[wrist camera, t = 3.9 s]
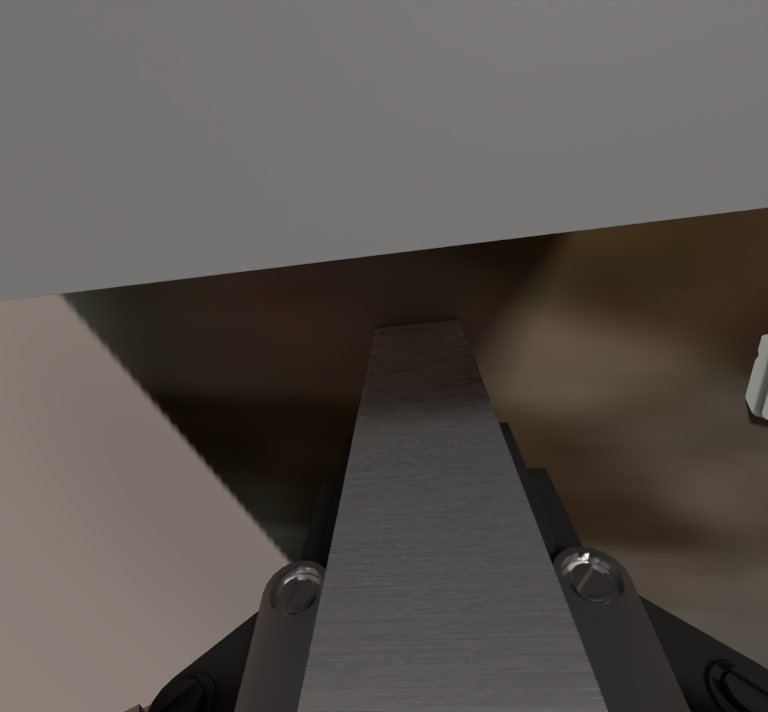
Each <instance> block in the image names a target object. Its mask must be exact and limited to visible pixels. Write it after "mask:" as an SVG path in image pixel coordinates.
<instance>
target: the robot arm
mask: <svg viewBox="0 0 768 712" xmlns="http://www.w3.org/2000/svg"><path fill="white" fill-rule="evenodd" d="M499 425H500V428H501V431H502V433H503V436H504V439H505V441H506V444H507V447H508V449H509V452H510V454H511V457H512V460H513V462H514V465H515V468H516V470H517V473H518V475H519V478H520V481H521V483H522V486H523V489H524V491H525V494H526V497H527V499H528V502H529V504H530V507H531V510H532V512H533V515H534V518H535V520H536V523H537V525H538V528H539V531H540V533H541V536H542V539H543V541H544V544H545V547H546V549H547V552H548V554H549V557H550V560H551V562H552V565H553V568H554V570H555V573H556V575H557V578H558V581H559V583H560V586H561V589H562V591H563V594H564V597H565V599H566V602H567V604H568V607H569V610H570V612H571V615H572V618H573V620H574V623H575V625H576V628H577V631H578V633H579V636H580V639H581V641H582V644H583V647H584V649H585V652H586V654H587V657H588V660H589V662H590V665H591V668H592V670H593V673H594V676H595V678H596V681H597V683H598V686H599V689H600V691H601V694H602V697H603V699H604V702H605V704H606V707H607V710H608V712H768V670H767V669H766V668H764V667H763V666H761V665H760V664H758V663H756V662H754V661H753V660H751V659H749V658H747V657H746V656H744V655H742V654H740V653H739V652H737V651H735V650H733V649H732V648H730V647H728V646H726V645H725V644H723V643H721V642H719V641H718V640H716V639H714V638H712V637H711V636H709V635H707V634H705V633H704V632H702V631H700V630H698V629H697V628H695V627H693V626H691V625H690V624H688V623H686V622H685V621H683V620H681V619H679V618H678V617H676V616H674V615H672V614H671V613H669V612H667V611H665V610H664V609H662V608H660V607H658V606H657V605H655V604H653V603H651V602H650V601H648V600H646V599H644V598H643V597H641V596H639V595H638V593H637V590H636V588H635V586H634V584H633V582H632V579H631V577H630V576H629V574H628V573H627V571H626V569H625V568H624V567H623V566H622V565H621V564H620V563H619V562H618V561H617V560H616V559H614V558H612V557H611V556H609V555H608V554H606V553H604V552H602V551H599V550H596V549H594V548H588V547H583V546H582V544H581V542H580V540H579V537H578V535H577V533H576V531H575V529H574V527H573V525H572V523H571V521H570V519H569V517H568V515H567V512H566V510H565V508H564V506H563V504H562V502H561V500H560V498H559V496H558V494H557V492H556V490H555V488H554V485H553V483H552V481H551V479H550V477H549V475H548V473H547V471H546V470H545V469H544V468H529V469H527V468H526V465H525V463H524V461H523V458H522V456H521V453H520V451H519V449H518V446H517V444H516V441H515V439H514V437H513V434H512V432H511V430H510V427H509V425H508V423H499ZM352 440H353V435H348V436H347V440H346V444H345V449H344V453H343V457H342V462H341V466H340V471H339V475H338V480H337V482H325V483H323V484H322V485H321V488H320V491H319V495H318V498H317V502H316V506H315V509H314V513H313V517H312V520H311V524H310V527H309V531H308V535H307V538H306V542H305V546H304V549H303V553H302V557H301V560H300V561H297V562H293V563H290V564H288V565H287V566H285V567H283V568H281V569H280V570H279V571H278V572H277V573H275V574H274V575H273V576H272V578H271V579H270V581H269V582H268V583H267V585H266V588H265V590H264V592H263V596H262V600H261V604H260V608H259V611H258V612H257V613H256V614H254V615H253V616H252V617H250V618H249V619H248V620H247V621H245V622H244V623H243V624H241V625H240V626H239V627H238V628H236V629H235V630H234V631H233V632H231V633H230V634H229V635H227V636H226V637H225V638H224V639H223V640H221V641H220V642H219V643H217V644H216V645H215V646H213V647H212V648H211V649H210V650H208V651H207V652H206V653H205V654H204V655H202V656H201V657H200V658H198V659H197V660H196V661H194V662H193V663H192V664H191V665H189V666H188V667H187V668H186V669H184V670H183V671H182V672H180V673H179V674H178V675H177V676H175V677H174V678H173V679H172V680H171V681H170V682H169V683H168V684H167V685H166V686H165V687H164V688H162V690H161V691H160V692H159V694H158V695H157V696H156V698H155V699H154V701H153V702H152V704H151V705H149V706H147V707H145V708H142V707H141V705H140V704H138V705H136V706H134V707H132V708H130V709H128V710H127V711H125V712H297V710H298V705H299V700H300V695H301V691H302V686H303V681H304V676H305V671H306V666H307V661H308V656H309V651H310V646H311V641H312V637H313V632H314V627H315V622H316V617H317V612H318V607H319V602H320V597H321V592H322V587H323V582H324V578H325V573H326V568H327V563H328V558H329V553H330V548H331V543H332V538H333V533H334V528H335V524H336V519H337V514H338V509H339V504H340V499H341V494H342V489H343V484H344V479H345V474H346V469H347V465H348V460H349V455H350V450H351V445H352Z"/></svg>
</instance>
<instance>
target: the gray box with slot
mask: <svg viewBox="0 0 768 712" xmlns="http://www.w3.org/2000/svg"><path fill="white" fill-rule="evenodd" d="M767 207H768V0H0V301H5V300H13V299H22V298H30V297H38V296H46V295H55V294H63V293H71V292H79V291H88V290H96V289H104V288H112V287H120V286H129V285H137V284H145V283H153V282H161V281H170V280H178V279H186V278H194V277H202V276H210V275H219V274H227V273H235V272H243V271H251V270H260V269H268V268H276V267H284V266H292V265H301V264H309V263H317V262H325V261H333V260H341V259H350V258H358V257H366V256H374V255H382V254H391V253H399V252H407V251H415V250H423V249H432V248H440V247H448V246H456V245H464V244H472V243H481V242H489V241H497V240H505V239H513V238H522V237H530V236H538V235H546V234H554V233H563V232H571V231H579V230H587V229H595V228H603V227H612V226H620V225H628V224H636V223H644V222H653V221H661V220H669V219H677V218H685V217H694V216H702V215H710V214H718V213H726V212H734V211H743V210H751V209H759V208H767Z"/></svg>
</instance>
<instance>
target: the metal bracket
mask: <svg viewBox="0 0 768 712" xmlns="http://www.w3.org/2000/svg"><path fill="white" fill-rule="evenodd" d="M758 353H759V355H758V357H757V359H756V360H755V363H754V367H753V371H752V374H751V378H750V382H749V385H748V389H747V393H746V396H745V398H746V401H747V403H748V405H749V408H750V410H751V412H752V413H753V414H754V415H755V416H758V417H764V418H765V419H767V420H768V334H767V335H763V336H762V338H761V341H760V345H759V349H758Z"/></svg>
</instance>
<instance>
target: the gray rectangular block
mask: <svg viewBox="0 0 768 712" xmlns="http://www.w3.org/2000/svg"><path fill="white" fill-rule="evenodd" d="M297 712H608V710H607V707H606V704H605V702H604V699H603V697H602V694H601V691H600V689H599V686H598V683H597V681H596V678H595V676H594V673H593V670H592V668H591V665H590V662H589V660H588V657H587V654H586V652H585V649H584V647H583V644H582V641H581V639H580V636H579V633H578V631H577V628H576V625H575V623H574V620H573V618H572V615H571V612H570V610H569V607H568V604H567V602H566V599H565V597H564V594H563V591H562V589H561V586H560V583H559V581H558V578H557V575H556V573H555V570H554V568H553V565H552V562H551V560H550V557H549V554H548V552H547V549H546V547H545V544H544V541H543V539H542V536H541V533H540V531H539V528H538V525H537V523H536V520H535V518H534V515H533V512H532V510H531V507H530V504H529V502H528V499H527V497H526V494H525V491H524V489H523V486H522V483H521V481H520V478H519V475H518V473H517V470H516V468H515V465H514V462H513V460H512V457H511V454H510V452H509V449H508V447H507V444H506V441H505V439H504V436H503V433H502V431H501V428H500V425H499V423H498V420H497V418H496V415H495V412H494V410H493V407H492V404H491V402H490V399H489V396H488V394H487V391H486V389H485V386H484V383H483V381H482V378H481V375H480V373H479V370H478V368H477V365H476V362H475V360H474V357H473V354H472V352H471V349H470V346H469V344H468V341H467V339H466V336H465V333H464V331H463V328H462V325H461V323H460V320H459V319H457V320H447V321H438V322H428V323H419V324H409V325H399V326H390V327H380V328H375V332H374V337H373V342H372V347H371V352H370V356H369V361H368V366H367V371H366V376H365V381H364V386H363V391H362V396H361V401H360V406H359V410H358V415H357V420H356V425H355V430H354V435H353V440H352V445H351V450H350V455H349V460H348V465H347V469H346V474H345V479H344V484H343V489H342V494H341V499H340V504H339V509H338V514H337V519H336V524H335V528H334V533H333V538H332V543H331V548H330V553H329V558H328V563H327V568H326V573H325V578H324V582H323V587H322V592H321V597H320V602H319V607H318V612H317V617H316V622H315V627H314V632H313V637H312V641H311V646H310V651H309V656H308V661H307V666H306V671H305V676H304V681H303V686H302V691H301V695H300V700H299V705H298V710H297Z"/></svg>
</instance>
